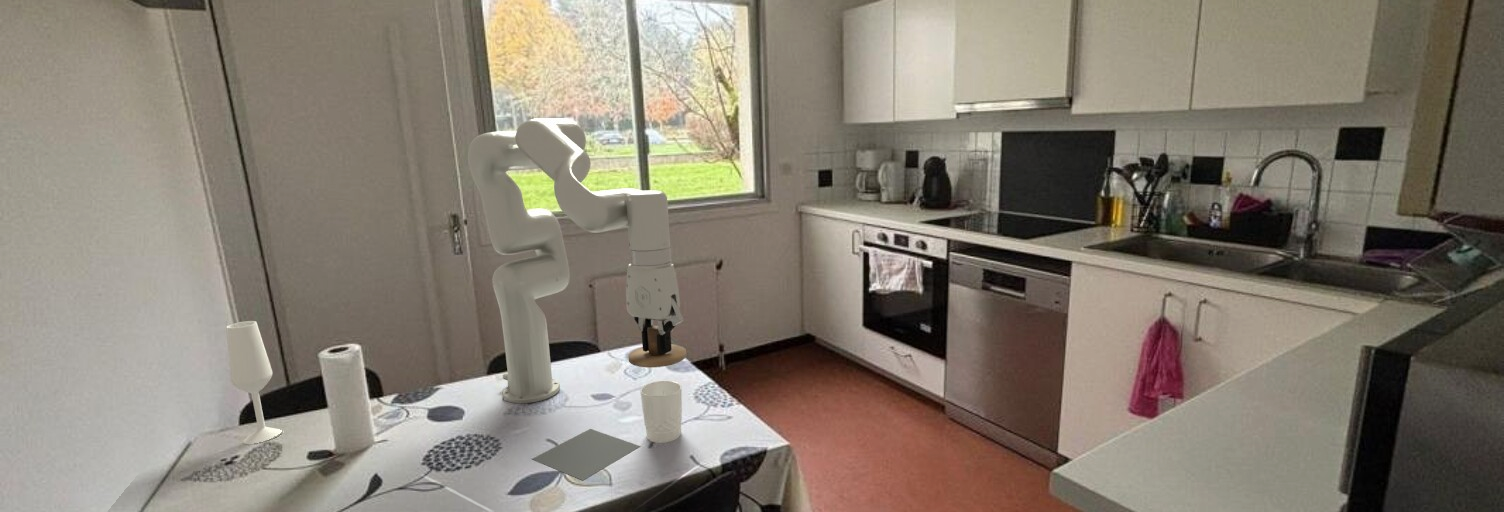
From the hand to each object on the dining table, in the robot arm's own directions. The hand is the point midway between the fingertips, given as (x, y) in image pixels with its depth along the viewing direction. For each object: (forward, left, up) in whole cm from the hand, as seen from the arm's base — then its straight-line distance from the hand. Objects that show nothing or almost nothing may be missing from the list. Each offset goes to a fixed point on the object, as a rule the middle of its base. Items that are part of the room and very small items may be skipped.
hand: (657, 350), depth 121 cm
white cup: (0, 0, -18) cm, 18 cm away
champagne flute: (-71, -43, -18) cm, 85 cm away
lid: (0, 0, -1) cm, 1 cm away
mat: (-7, -13, -18) cm, 23 cm away
